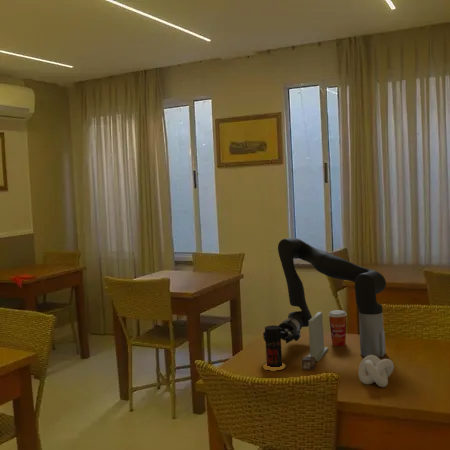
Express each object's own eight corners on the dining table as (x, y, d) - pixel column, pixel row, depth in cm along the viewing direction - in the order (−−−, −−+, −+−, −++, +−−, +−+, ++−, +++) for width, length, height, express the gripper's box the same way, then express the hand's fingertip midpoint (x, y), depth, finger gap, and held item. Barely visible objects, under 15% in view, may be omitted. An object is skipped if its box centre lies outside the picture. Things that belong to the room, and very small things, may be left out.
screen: (328, 349, 234) (326, 312, 233) (318, 361, 221) (316, 321, 220) (316, 349, 236) (314, 311, 235) (306, 360, 223) (304, 320, 222)
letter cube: (315, 367, 214) (314, 357, 214) (312, 371, 210) (311, 360, 210) (305, 366, 216) (304, 356, 216) (301, 370, 212) (301, 359, 212)
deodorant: (264, 365, 218) (261, 327, 217) (277, 362, 221) (275, 324, 220) (271, 369, 213) (269, 330, 212) (285, 366, 215) (283, 327, 214)
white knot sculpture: (350, 384, 194) (349, 359, 193) (369, 374, 202) (368, 350, 202) (380, 392, 186) (379, 365, 185) (398, 381, 194) (397, 356, 194)
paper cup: (328, 346, 239) (327, 314, 238) (330, 341, 246) (329, 309, 245) (347, 347, 237) (346, 314, 236) (349, 341, 244) (347, 309, 243)
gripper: (271, 319, 236) (258, 329, 221) (304, 320, 230) (293, 331, 216) (272, 336, 237) (259, 348, 222) (305, 338, 231) (294, 350, 216)
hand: (276, 339), depth 219 cm, fingers open, 8 cm apart
